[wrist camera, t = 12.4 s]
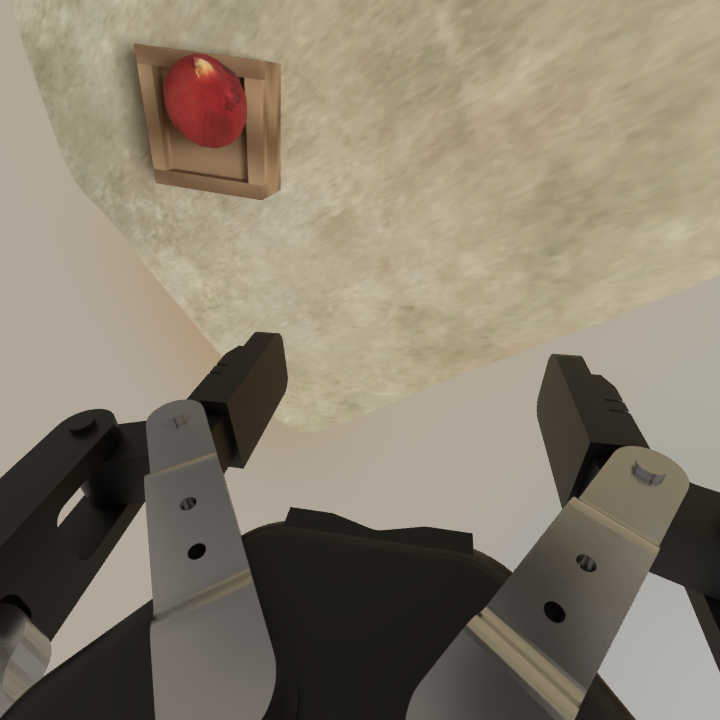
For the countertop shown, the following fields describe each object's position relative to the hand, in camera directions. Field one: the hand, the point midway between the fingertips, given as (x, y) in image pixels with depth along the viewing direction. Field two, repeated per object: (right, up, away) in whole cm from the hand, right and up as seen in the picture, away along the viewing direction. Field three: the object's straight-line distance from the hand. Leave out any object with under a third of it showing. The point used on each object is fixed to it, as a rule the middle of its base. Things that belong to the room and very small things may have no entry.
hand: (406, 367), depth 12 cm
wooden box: (-13, +22, +25) cm, 36 cm away
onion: (-14, +19, +22) cm, 32 cm away
